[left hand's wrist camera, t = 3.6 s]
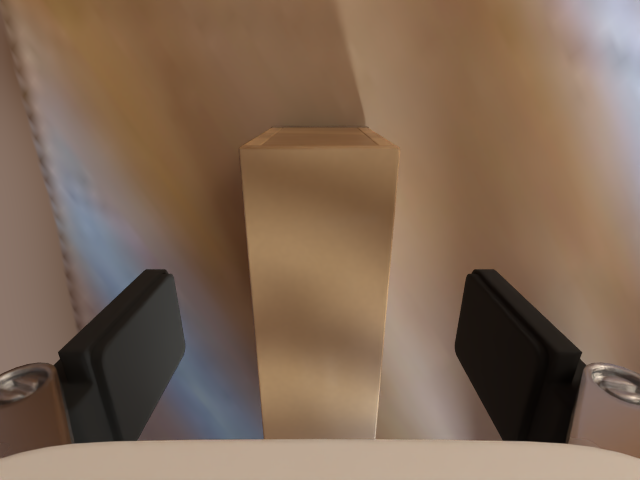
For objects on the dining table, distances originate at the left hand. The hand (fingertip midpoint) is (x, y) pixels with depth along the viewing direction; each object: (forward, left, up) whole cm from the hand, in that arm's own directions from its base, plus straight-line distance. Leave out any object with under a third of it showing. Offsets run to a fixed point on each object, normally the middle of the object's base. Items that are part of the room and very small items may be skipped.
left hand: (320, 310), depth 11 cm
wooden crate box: (+4, -3, -16) cm, 17 cm away
